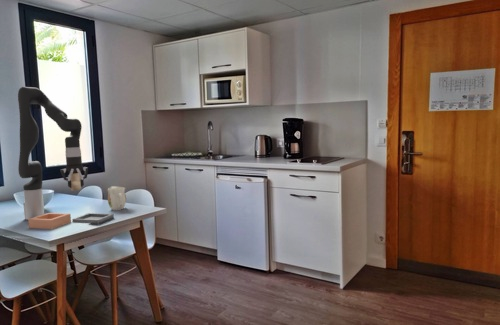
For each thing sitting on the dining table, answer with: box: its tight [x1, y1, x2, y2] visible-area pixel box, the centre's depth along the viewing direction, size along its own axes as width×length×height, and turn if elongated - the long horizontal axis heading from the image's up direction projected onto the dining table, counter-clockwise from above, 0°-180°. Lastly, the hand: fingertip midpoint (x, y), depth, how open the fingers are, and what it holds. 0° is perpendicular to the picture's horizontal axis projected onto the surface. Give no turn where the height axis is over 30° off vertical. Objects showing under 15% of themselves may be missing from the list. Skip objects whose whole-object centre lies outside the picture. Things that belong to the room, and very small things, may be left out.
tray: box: [71, 212, 115, 226], centre depth 209 cm, size 16×14×2 cm
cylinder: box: [70, 173, 82, 191], centre depth 202 cm, size 5×5×9 cm
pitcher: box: [107, 185, 127, 211], centre depth 236 cm, size 11×18×14 cm, turn 36°
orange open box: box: [27, 212, 72, 230], centre depth 199 cm, size 14×14×6 cm
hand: (76, 187), depth 203 cm, fingers closed on cylinder, 5 cm apart
